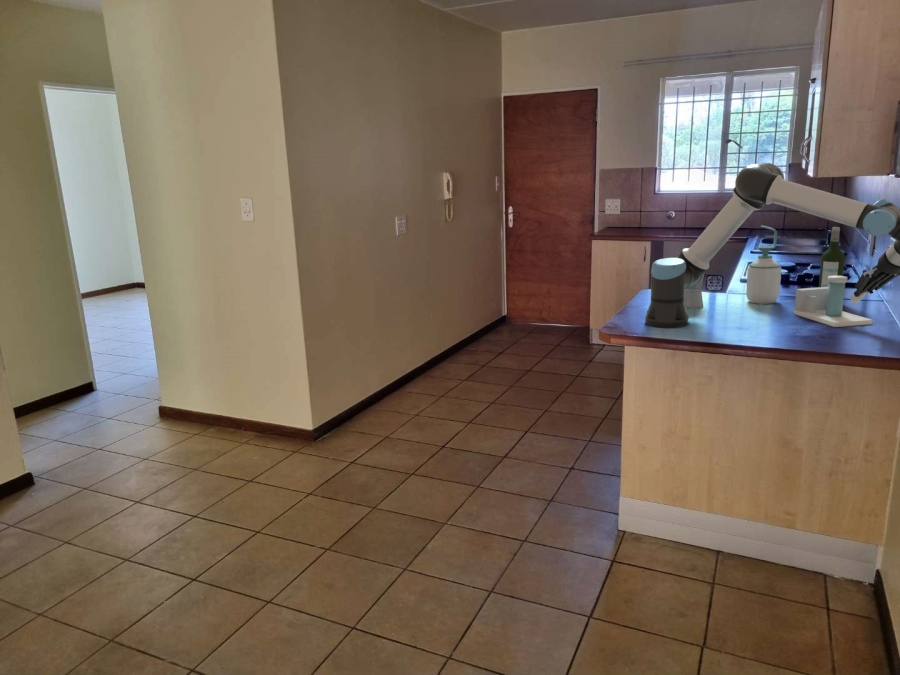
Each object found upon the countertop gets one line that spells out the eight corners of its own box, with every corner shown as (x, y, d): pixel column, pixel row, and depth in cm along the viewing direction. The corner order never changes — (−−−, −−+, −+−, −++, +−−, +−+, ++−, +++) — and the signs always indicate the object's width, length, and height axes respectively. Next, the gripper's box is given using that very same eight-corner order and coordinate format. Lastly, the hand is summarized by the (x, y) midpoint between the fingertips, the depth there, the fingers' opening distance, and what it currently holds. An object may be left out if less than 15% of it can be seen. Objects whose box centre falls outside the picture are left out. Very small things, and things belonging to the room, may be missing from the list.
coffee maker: (693, 310, 258) (695, 265, 253) (673, 307, 264) (675, 263, 260) (713, 304, 267) (715, 260, 262) (693, 301, 273) (695, 259, 269)
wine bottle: (838, 301, 261) (846, 226, 253) (841, 305, 254) (849, 228, 246) (816, 300, 264) (823, 226, 256) (817, 304, 257) (825, 228, 250)
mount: (871, 323, 225) (875, 297, 223) (834, 327, 223) (837, 300, 221) (828, 311, 246) (830, 286, 244) (793, 313, 245) (796, 288, 242)
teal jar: (847, 315, 231) (851, 277, 227) (831, 316, 230) (835, 278, 227) (835, 312, 237) (839, 275, 233) (820, 313, 236) (823, 276, 233)
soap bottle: (744, 298, 274) (748, 224, 266) (776, 299, 270) (782, 223, 262) (747, 305, 263) (751, 227, 255) (781, 305, 259) (786, 226, 251)
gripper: (883, 269, 201) (840, 310, 221) (921, 266, 202) (875, 307, 223) (872, 250, 205) (831, 292, 225) (910, 247, 206) (865, 290, 226)
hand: (853, 300), depth 224 cm, fingers closed
